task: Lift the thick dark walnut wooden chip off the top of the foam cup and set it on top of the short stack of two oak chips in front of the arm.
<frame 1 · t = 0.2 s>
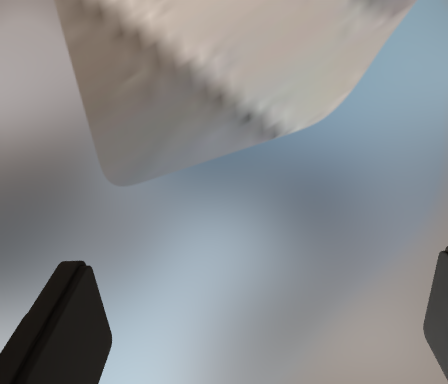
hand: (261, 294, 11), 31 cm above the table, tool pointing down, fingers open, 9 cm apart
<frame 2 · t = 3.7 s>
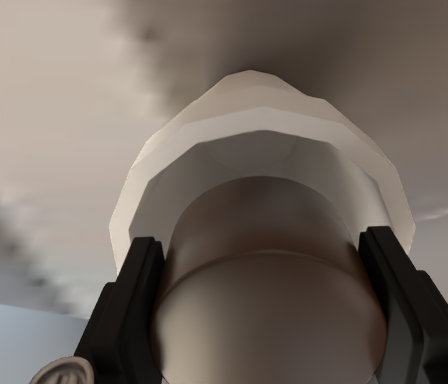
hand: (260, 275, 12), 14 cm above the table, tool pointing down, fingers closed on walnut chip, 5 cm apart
foam cup: (249, 122, 24), on the table, touching walnut chip
walnut chip: (259, 254, 12), point 13 cm above the table, touching foam cup, gripper
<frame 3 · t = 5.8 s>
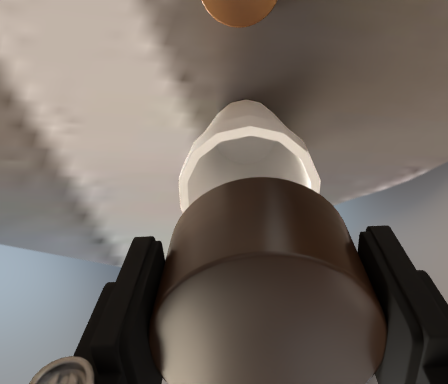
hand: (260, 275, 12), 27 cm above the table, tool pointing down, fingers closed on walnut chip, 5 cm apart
foam cup: (245, 131, 38), on the table
walnut chip: (259, 255, 12), point 26 cm above the table, touching gripper
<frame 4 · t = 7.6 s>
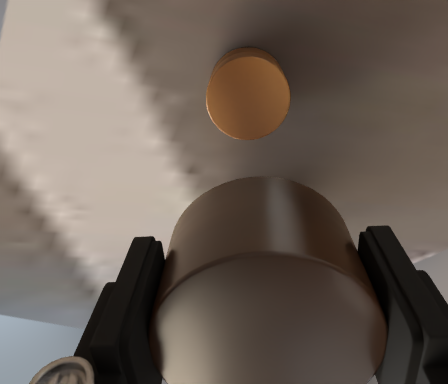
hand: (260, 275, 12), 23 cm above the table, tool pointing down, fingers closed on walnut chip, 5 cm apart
walnut chip: (259, 255, 12), point 22 cm above the table, touching gripper
oak chip middle: (247, 92, 30), point 2 cm above the table, touching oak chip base
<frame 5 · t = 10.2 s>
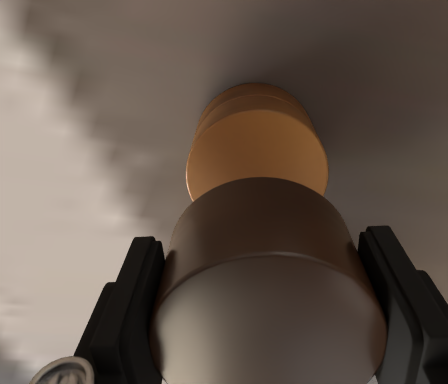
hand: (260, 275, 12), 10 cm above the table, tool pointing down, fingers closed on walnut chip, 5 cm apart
walnut chip: (259, 255, 12), point 9 cm above the table, touching gripper
oak chip middle: (255, 158, 18), point 2 cm above the table, touching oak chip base
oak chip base: (253, 141, 20), on the table, touching oak chip middle
when the fingers open (5 cm above the table, at t = 11.8 s): walnut chip stays where it is, resting on oak chip middle.
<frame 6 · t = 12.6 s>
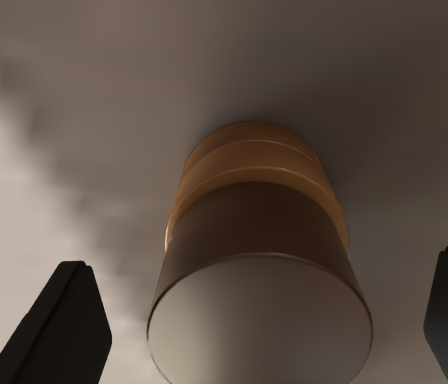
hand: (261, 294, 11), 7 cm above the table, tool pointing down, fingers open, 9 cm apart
walnut chip: (253, 256, 13), point 4 cm above the table, touching oak chip middle
oak chip middle: (253, 215, 15), point 2 cm above the table, touching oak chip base, walnut chip
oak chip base: (252, 188, 17), on the table, touching oak chip middle
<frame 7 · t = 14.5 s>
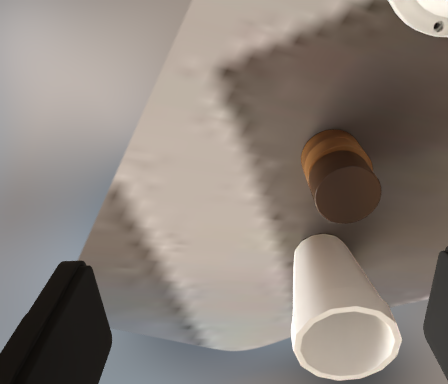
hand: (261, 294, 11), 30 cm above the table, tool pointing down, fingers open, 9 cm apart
foam cup: (320, 254, 47), on the table
walnut chip: (338, 177, 37), point 4 cm above the table, touching oak chip middle
oak chip middle: (335, 165, 39), point 2 cm above the table, touching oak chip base, walnut chip
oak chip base: (330, 157, 41), on the table, touching oak chip middle
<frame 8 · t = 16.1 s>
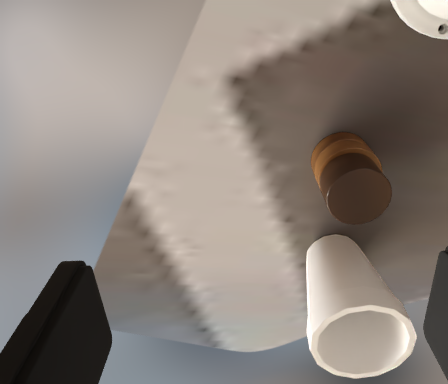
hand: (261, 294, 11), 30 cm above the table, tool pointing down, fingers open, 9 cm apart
foam cup: (332, 255, 47), on the table
walnut chip: (348, 179, 38), point 4 cm above the table, touching oak chip middle
oak chip middle: (344, 167, 39), point 2 cm above the table, touching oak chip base, walnut chip
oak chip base: (339, 159, 41), on the table, touching oak chip middle
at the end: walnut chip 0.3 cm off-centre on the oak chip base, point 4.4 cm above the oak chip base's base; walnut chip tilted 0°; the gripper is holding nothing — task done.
